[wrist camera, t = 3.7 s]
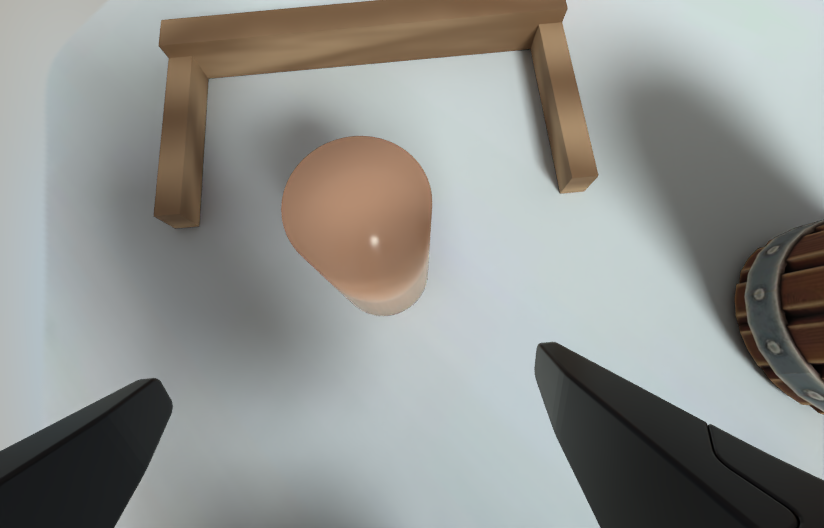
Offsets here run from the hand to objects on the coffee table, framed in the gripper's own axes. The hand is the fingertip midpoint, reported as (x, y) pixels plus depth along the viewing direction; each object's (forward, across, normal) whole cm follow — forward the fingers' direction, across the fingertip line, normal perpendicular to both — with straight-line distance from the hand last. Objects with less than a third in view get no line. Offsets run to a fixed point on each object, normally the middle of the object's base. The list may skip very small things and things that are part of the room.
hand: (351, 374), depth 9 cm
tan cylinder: (+13, 0, -5) cm, 14 cm away
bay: (+20, 0, +2) cm, 20 cm away
